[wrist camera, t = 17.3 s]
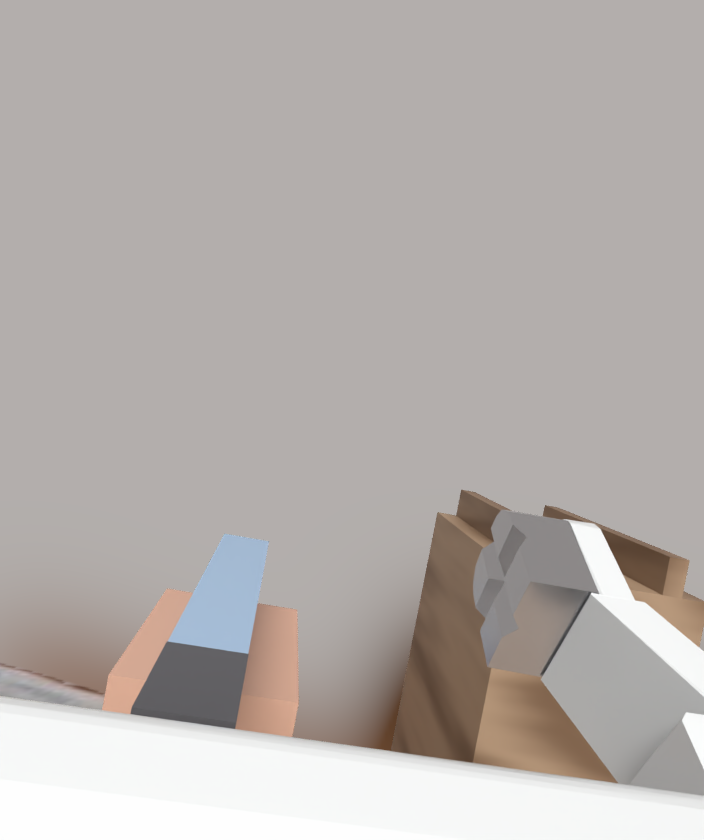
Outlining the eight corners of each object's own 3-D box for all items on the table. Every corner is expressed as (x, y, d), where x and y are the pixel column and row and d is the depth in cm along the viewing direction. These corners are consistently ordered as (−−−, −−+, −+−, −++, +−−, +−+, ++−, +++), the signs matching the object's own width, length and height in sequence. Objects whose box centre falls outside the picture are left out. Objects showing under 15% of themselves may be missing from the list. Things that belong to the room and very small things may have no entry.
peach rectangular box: (28, 1095, 26) (108, 674, 26) (111, 877, 38) (167, 588, 38) (219, 1110, 27) (298, 702, 27) (242, 892, 39) (297, 609, 39)
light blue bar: (111, 810, 18) (131, 707, 18) (215, 577, 42) (224, 533, 42) (216, 823, 18) (236, 722, 18) (260, 584, 42) (269, 540, 42)
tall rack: (378, 1240, 24) (518, 529, 23) (349, 959, 36) (442, 486, 35) (577, 1253, 24) (715, 565, 24) (484, 973, 36) (576, 511, 36)
